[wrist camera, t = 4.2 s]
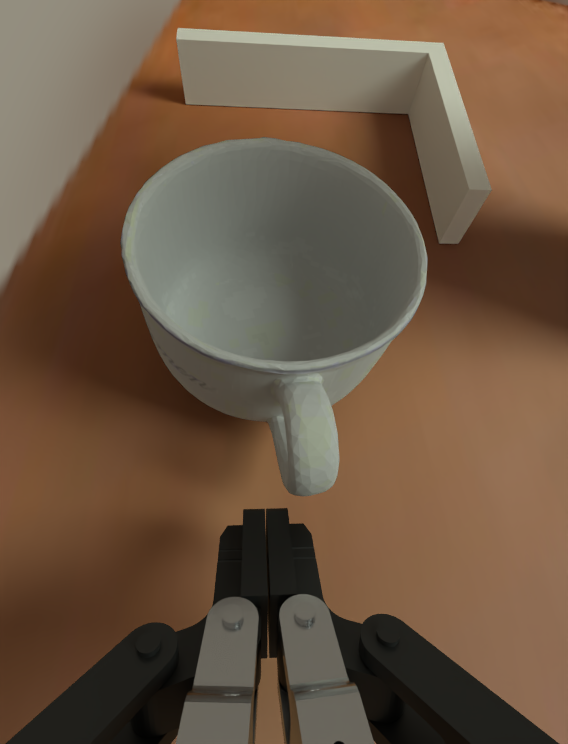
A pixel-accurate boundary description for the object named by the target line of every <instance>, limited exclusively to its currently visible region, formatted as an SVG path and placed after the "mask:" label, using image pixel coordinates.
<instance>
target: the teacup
mask: <svg viewBox="0 0 568 744" xmlns="http://www.w3.org/2000/svg"><path fill="white" fill-rule="evenodd" d="M121 248H122V259H123V263H124V266H125V272H126V275H127V278H128V280H129V283H130V285H131V287H132V289H133V292H134V294H135V296H136V297H137V299H138V301H139V303H140V306H141V309H142V312H143V315H144V318H145V321H146V323H147V326H148V329H149V331H150V334H151V336H152V339H153V341H154V344H155V346H156V348H157V350H158V352H159V354H160V356H161V358H162V359H163V361H164V363H165V365H166V366H167V367H168V369H169V370H170V372H171V373H172V375H173V376H174V377H175V378H176V379H177V380H178V381H179V382H180V383H181V385H182V386H183V387H184V388H185V389H186V390H187V391H188V392H190V393H191V394H192V395H194V396H195V397H196V398H197V399H199V400H200V401H202V402H203V403H205V404H206V405H208V406H210V407H212V408H214V409H216V410H218V411H220V412H222V413H225V414H228V415H230V416H234V417H238V418H241V419H247V420H253V421H263V422H268V423H269V426H270V429H271V432H272V436H273V441H274V445H275V450H276V455H277V460H278V464H279V469H280V473H281V477H282V481H283V484H284V486H285V487H286V489H287V490H288V491H289V493H291V494H293V495H297V496H310V495H314V494H318V493H322V492H325V491H326V490H328V489H329V488H331V487H332V486H333V484H334V483H335V480H336V477H337V474H338V466H339V448H338V434H337V428H336V423H335V418H334V414H333V410H332V407H331V406H332V405H333V404H335V403H336V402H338V401H339V400H341V399H342V398H343V397H345V396H346V395H347V394H348V393H350V392H351V391H352V390H353V389H354V388H355V387H356V386H357V385H358V384H359V383H360V382H361V381H362V380H363V379H364V378H365V376H366V375H367V374H368V373H369V371H370V370H371V369H372V367H373V366H374V365H375V363H376V362H377V361H378V360H379V358H380V357H381V356H382V354H383V353H384V351H385V350H386V348H387V347H388V345H389V344H390V343H391V341H392V340H393V339H394V338H395V337H397V336H398V335H399V333H400V332H401V331H402V330H403V329H404V328H405V327H406V326H407V324H408V323H409V322H410V321H411V319H412V318H413V316H414V314H415V312H416V311H417V308H418V306H419V304H420V301H421V299H422V296H423V294H424V290H425V286H426V275H427V253H426V248H425V243H424V240H423V237H422V234H421V232H420V229H419V227H418V224H417V222H416V220H415V219H414V217H413V215H412V214H411V212H410V211H409V209H408V208H407V207H406V205H405V204H404V202H403V201H402V200H401V199H400V198H399V197H398V196H397V194H396V193H395V192H394V191H393V190H392V189H391V188H390V187H389V186H388V185H387V184H386V183H384V182H383V181H382V180H381V179H379V178H378V177H377V176H376V175H374V174H373V173H371V172H370V171H368V170H367V169H366V168H364V167H362V166H360V165H359V164H357V163H355V162H353V161H352V160H349V159H347V158H345V157H343V156H341V155H338V154H336V153H333V152H330V151H328V150H325V149H322V148H319V147H314V146H310V145H306V144H302V143H299V142H291V141H284V140H280V139H275V138H267V137H262V138H256V139H241V140H226V141H223V142H219V143H215V144H210V145H206V146H202V147H200V148H197V149H195V150H193V151H190V152H188V153H186V154H184V155H181V156H179V157H178V158H176V159H174V160H172V161H171V162H169V163H168V164H167V165H165V166H164V167H162V168H161V169H160V170H159V171H157V172H156V173H155V174H154V175H153V176H152V177H151V178H150V179H148V180H147V181H146V182H145V183H144V185H143V187H142V188H141V189H140V190H139V192H138V193H137V194H136V196H135V198H134V200H133V202H132V203H131V205H130V206H129V209H128V212H127V214H126V216H125V222H124V226H123V231H122V237H121Z"/></svg>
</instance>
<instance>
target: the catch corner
mask: <svg viewBox="0 0 568 744" xmlns="http://www.w3.org/2000/svg"><path fill="white" fill-rule="evenodd" d="M176 40H177V47H178V54H179V61H180V68H181V75H182V82H183V89H184V96H185V103H186V104H191V105H214V106H236V107H259V108H282V109H304V110H327V111H350V112H372V113H395V114H408V115H409V120H410V124H411V128H412V132H413V136H414V141H415V145H416V149H417V153H418V157H419V162H420V166H421V170H422V174H423V178H424V183H425V187H426V191H427V195H428V199H429V204H430V208H431V212H432V216H433V220H434V225H435V229H436V233H437V237H438V242H439V244H459V242H460V240H461V239H462V237H463V236H464V234H465V232H466V231H467V229H468V228H469V226H470V224H471V223H472V221H473V220H474V218H475V216H476V215H477V213H478V211H479V210H480V208H481V207H482V205H483V203H484V202H485V200H486V199H487V197H488V195H489V194H490V192H491V191H492V189H491V186H490V183H489V180H488V177H487V174H486V171H485V168H484V165H483V162H482V159H481V156H480V153H479V150H478V147H477V144H476V141H475V138H474V135H473V132H472V128H471V125H470V122H469V119H468V116H467V113H466V110H465V107H464V104H463V101H462V98H461V95H460V92H459V89H458V86H457V83H456V80H455V77H454V74H453V70H452V67H451V64H450V61H449V58H448V55H447V52H446V49H445V46H444V43H433V42H415V41H397V40H380V39H362V38H344V37H327V36H309V35H291V34H274V33H256V32H238V31H221V30H203V29H185V28H178V31H177V38H176Z"/></svg>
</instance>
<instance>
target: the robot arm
mask: <svg viewBox="0 0 568 744" xmlns="http://www.w3.org/2000/svg"><path fill="white" fill-rule="evenodd" d="M267 626H268V632H269V658H277V667H278V684H277V685H278V696H279V704H280V712H281V720H282V728H283V736H284V744H374V741H375V742H376V743H377V744H559V743H557V742H556V741H555V740H554V739H552V738H551V737H550V736H548V735H547V734H546V733H545V732H543V731H542V730H541V729H540V728H538V727H537V726H536V725H534V724H533V723H532V722H531V721H529V720H528V719H527V718H525V717H524V716H523V715H522V714H520V713H519V712H518V711H516V710H515V709H514V708H513V707H511V706H510V705H509V704H508V703H506V702H505V701H504V700H502V699H501V698H500V697H499V696H497V695H496V694H495V693H493V692H492V691H491V690H490V689H488V688H487V687H486V686H484V685H483V684H482V683H481V682H479V681H478V680H477V679H476V678H474V677H473V676H472V675H470V674H469V673H468V672H467V671H465V670H464V669H463V668H461V667H460V666H459V665H458V664H456V663H455V662H454V661H452V660H451V659H450V658H449V657H447V656H446V655H445V654H444V653H442V652H441V651H440V650H438V649H437V648H436V647H435V646H433V645H432V644H431V643H429V642H428V641H427V640H426V639H424V638H423V637H422V636H420V635H419V634H418V633H417V632H415V631H414V630H413V629H412V628H410V627H409V626H408V625H406V624H405V623H404V622H403V621H401V620H400V619H398V618H396V617H394V616H391V615H387V614H376V615H372V616H370V617H369V618H367V619H366V620H365V621H364V622H363V624H360V623H357V622H353V621H349V620H346V619H343V618H341V617H339V616H337V615H336V614H334V613H333V612H332V611H331V610H330V609H329V608H328V607H327V605H326V604H325V601H324V599H323V595H322V590H321V584H320V579H319V573H318V568H317V563H316V559H315V552H314V546H313V541H312V535H311V533H310V532H309V530H308V529H307V528H306V527H305V525H304V524H289V517H288V509H287V508H278V509H266V533H265V509H244V510H243V525H233V526H227V527H226V529H225V530H224V532H223V533H222V535H221V536H220V544H219V554H218V563H217V573H216V582H215V592H214V601H213V605H212V608H211V609H210V611H209V613H208V614H207V616H206V617H205V618H204V619H203V620H201V621H200V622H199V623H197V624H195V625H193V626H191V627H189V628H186V629H183V630H180V631H177V632H175V631H174V630H173V629H172V628H171V627H170V626H168V625H166V624H164V623H148V624H145V625H142V626H140V627H138V628H137V629H135V630H134V631H132V632H131V633H130V634H129V635H128V636H127V637H126V638H124V639H123V640H122V641H121V642H120V643H119V644H118V645H117V646H115V647H114V648H113V649H112V650H111V651H110V652H109V653H107V654H106V655H105V656H104V657H103V658H102V659H101V660H100V661H98V662H97V663H96V664H95V665H94V666H93V667H92V668H91V669H89V670H88V671H87V672H86V673H85V674H84V675H83V676H82V677H80V678H79V679H78V680H77V681H76V682H75V683H74V684H72V685H71V686H70V687H69V688H68V689H67V690H66V691H65V692H63V693H62V694H61V695H60V696H59V697H58V698H57V699H56V700H54V701H53V702H52V703H51V704H50V705H49V706H48V707H47V708H45V709H44V710H43V711H42V712H41V713H40V714H39V715H37V716H36V717H35V718H34V719H33V720H32V721H31V722H30V723H28V724H27V725H26V726H25V727H24V728H23V729H22V730H21V731H19V732H18V733H17V734H16V735H15V736H14V737H13V738H12V739H10V740H9V741H8V742H7V743H6V744H171V743H172V741H173V740H174V739H175V738H176V736H177V735H178V736H177V741H176V744H255V736H256V720H257V703H258V685H259V683H260V679H261V658H267ZM373 740H374V741H373Z"/></svg>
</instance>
